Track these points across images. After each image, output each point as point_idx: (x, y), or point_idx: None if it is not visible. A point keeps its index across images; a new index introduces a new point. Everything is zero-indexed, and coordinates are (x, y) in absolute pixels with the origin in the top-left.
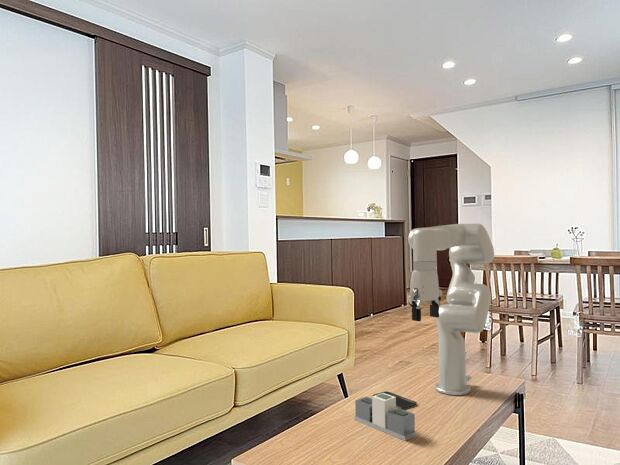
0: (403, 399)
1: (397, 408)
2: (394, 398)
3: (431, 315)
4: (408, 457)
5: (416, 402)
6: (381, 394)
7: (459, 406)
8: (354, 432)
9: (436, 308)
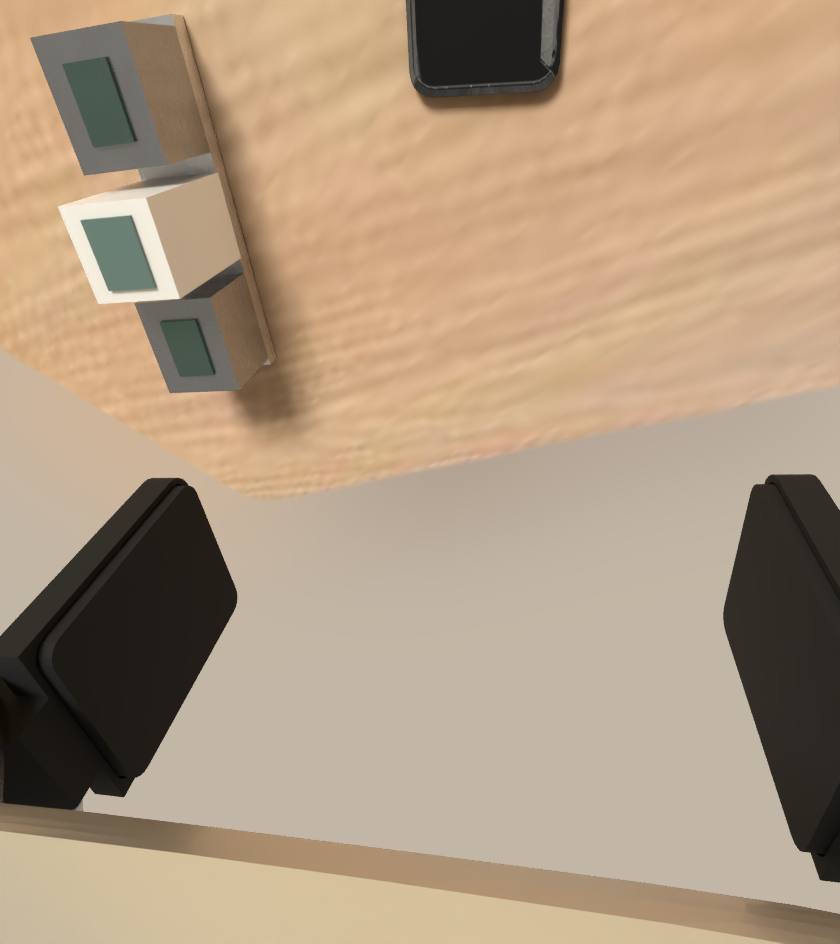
0: None
1: (203, 300)
2: (173, 297)
3: (749, 523)
4: (163, 437)
5: (555, 76)
6: (117, 223)
7: (715, 267)
8: (55, 171)
9: (781, 773)
